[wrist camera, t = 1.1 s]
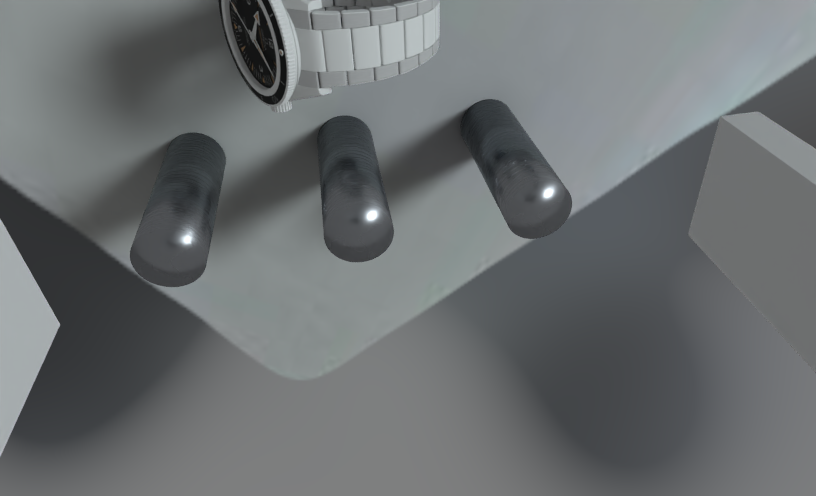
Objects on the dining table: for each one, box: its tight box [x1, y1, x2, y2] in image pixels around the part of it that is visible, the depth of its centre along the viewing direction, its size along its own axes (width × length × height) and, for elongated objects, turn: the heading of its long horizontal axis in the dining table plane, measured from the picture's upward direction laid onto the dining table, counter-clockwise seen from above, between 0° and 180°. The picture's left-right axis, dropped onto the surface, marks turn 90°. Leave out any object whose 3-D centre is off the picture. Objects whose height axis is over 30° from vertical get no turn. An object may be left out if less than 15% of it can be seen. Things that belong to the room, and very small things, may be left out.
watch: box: [219, 0, 440, 112], centre depth 23 cm, size 6×8×11 cm
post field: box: [130, 99, 572, 287], centre depth 24 cm, size 20×19×9 cm
